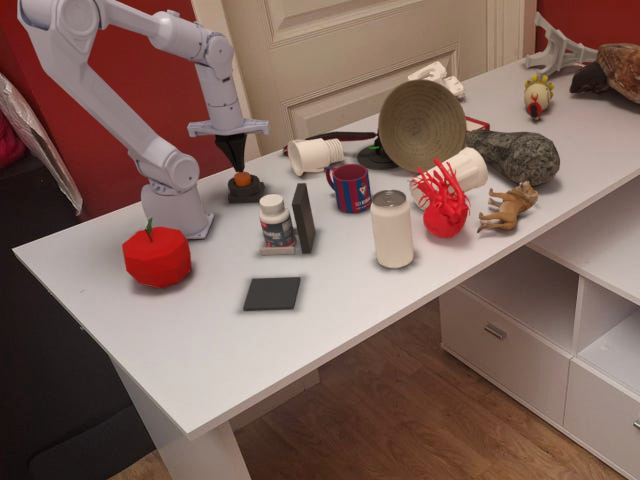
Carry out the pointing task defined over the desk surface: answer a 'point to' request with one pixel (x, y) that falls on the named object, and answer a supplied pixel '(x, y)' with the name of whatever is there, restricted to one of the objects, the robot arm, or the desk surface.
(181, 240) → the apple
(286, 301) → the coaster
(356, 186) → the cup
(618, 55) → the sculpture
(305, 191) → the upright grey panel
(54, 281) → the desk surface
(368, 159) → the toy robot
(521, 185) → the lion figurine
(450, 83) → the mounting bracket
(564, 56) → the eiffel tower
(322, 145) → the downlight
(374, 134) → the toy
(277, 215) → the pill bottle
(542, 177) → the decorative stone
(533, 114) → the toy
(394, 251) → the can
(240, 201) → the block
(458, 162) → the cup
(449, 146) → the bowl
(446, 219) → the heart organ
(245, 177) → the button
